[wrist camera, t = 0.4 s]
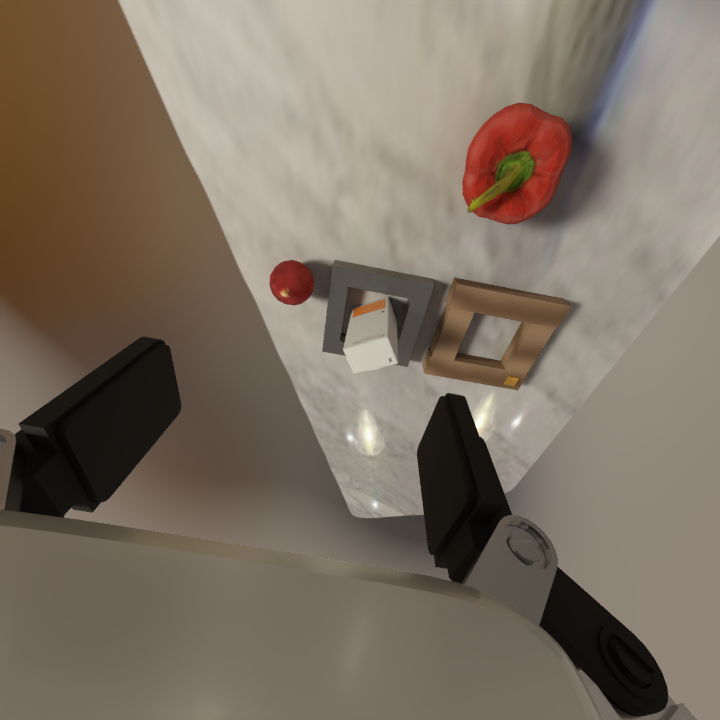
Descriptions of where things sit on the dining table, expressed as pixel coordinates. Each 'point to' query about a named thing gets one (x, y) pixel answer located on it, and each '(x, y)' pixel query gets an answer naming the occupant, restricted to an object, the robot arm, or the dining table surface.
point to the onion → (291, 282)
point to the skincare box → (372, 337)
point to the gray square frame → (380, 282)
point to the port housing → (500, 302)
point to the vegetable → (515, 163)
